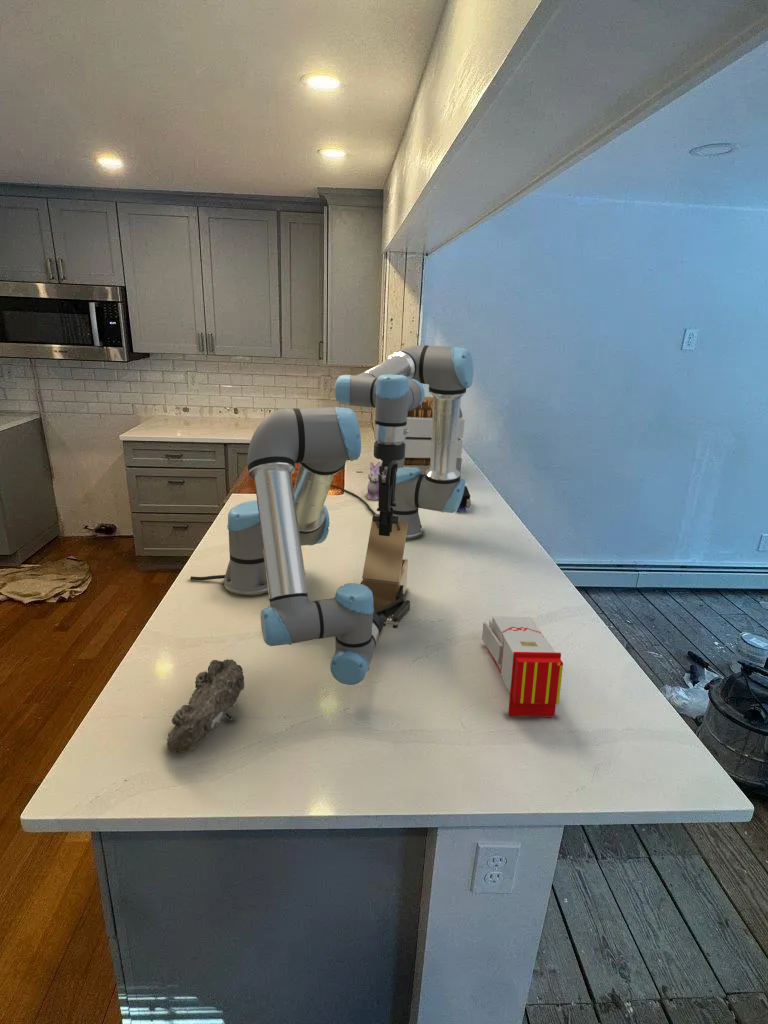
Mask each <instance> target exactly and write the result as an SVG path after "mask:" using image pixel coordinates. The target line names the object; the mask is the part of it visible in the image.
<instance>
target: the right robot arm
mask: <svg viewBox="0 0 768 1024" xmlns="http://www.w3.org/2000/svg"><path fill="white" fill-rule="evenodd" d="M473 378H474V362H473V357H472V354H471V352H470V350H469V349H468V348H465V347H458V346H449V345H428V344H417V345H412V346H408V347H405V348H402V349H398V350H396V351H394V352H393V353H391V354H390V355H389V356H388V357H387V358H386V360H385V361H383V362H380V363H379V364H376V365H375V366H373V367H371V368H369V369H366V370H365V371H362V372H361V373H359V374H356V375H351V374H341V375H339V376H338V377H337V379H336V381H335V384H334V396H335V400H336V402H337V403H338V404H340V405H346V406H349V407H351V406H352V407H361V408H362V407H363V408H372V409H375V417H374V427H373V429H374V431H373V432H374V433H373V439H374V441H375V442H373V457H374V458H375V459H377V460H380V461H381V465H380V467H379V473H380V474H379V476H378V479H379V499H378V504H377V505H378V506H377V508H376V512H379V514H380V518H379V535H381V536H390V532H392V524H390V523H391V516H399V521H407V522H408V527H407V534H406V541H410V540H415V539H418V538H420V537H421V536H422V535H423V525H422V524H421V518H420V515H419V509H424V510H429V511H433V512H441V513H449V514H453V513H456V512H457V509H458V507H459V505H460V503H461V500H462V496H463V493H464V488H465V486H466V481H465V479H462V478H461V474H460V472H459V471H458V470H457V469H456V461H457V446H458V431H459V416H460V408H461V401H462V397H463V396H464V395H466V393H467V389H469V388H471V386H472V385H473ZM423 385H428V392H429V394H431V396H432V397H433V415H432V437H431V459H430V466H429V468H427V469H426V470H425V471H424V472H425V473H422V469H421V468H419V467H417V466H404V467H402V468H398V464H397V463H396V461H398V460H402V459H403V458H404V457H405V443H404V441H405V439H406V433H408V432H409V430H408V429H405V428H406V424H407V411H410V410H414V409H416V408H417V407H418V406H419V405H420V404H421V403H422V402H423V399H424V397H426V396H425V394H426V393H425V388H424V386H423ZM330 487H332V488H335V489H338V490H340V491H343V492H345V493H347V494H350V495H351V496H354V497H355V498H357V499H358V500H360V501H361V502H362V503H363V504H364V505H365V506H366V507H367V509H368V510H369V511H370V513H372V514H373V515H374V514H377V513H376V512H375V511H374V510H373V509H372V508H371V507H370V505H369V504H368V503H367V502H366V501H365V500H364V499H363V498H362V497H360V496H359V495H357V494H356V493H354V492H352V491H350V490H347V489H344V488H342V487H340V486H337V485H334V484H331V486H330Z"/></svg>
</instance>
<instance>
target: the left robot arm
mask: <svg viewBox="0 0 768 1024" xmlns="http://www.w3.org/2000/svg"><path fill="white" fill-rule="evenodd" d="M361 452H362V436H361V428H360V424H359V421H358V416H357V415H356V413H355V411H354V410H353V409H351V408H350V407H339V406H330V407H326V406H325V407H304V408H303V407H299V408H297V407H296V408H295V407H294V408H292V407H285V408H281V409H277V410H274V411H273V412H271V413H270V414H268V415H267V416H266V417H265V418H264V419H263V420H262V421H261V422H260V423H259V425H258V426H257V427H256V429H255V431H253V435H252V436H251V438H250V441H249V446H248V451H247V459H246V461H247V463H246V464H247V474H248V476H249V478H251V479H252V480H253V481H254V487H255V495H256V499H255V500H249V501H244V502H241V503H238V504H236V505H235V506H233V507H231V508H230V510H229V512H228V514H227V526H226V527H227V530H228V549H229V550H228V551H229V552H228V553H229V562H228V564H227V568H226V572H225V574H219V575H208V576H192V575H191V576H190V581H211V580H220V579H221V580H222V579H224V580H223V582H224V583H223V584H224V589H225V590H226V591H227V592H229V593H231V594H233V595H234V594H235V595H238V596H243V597H253V596H261V595H266V594H268V600H269V606H267V607H263V608H262V609H261V611H260V628H261V634H262V639H263V642H264V643H265V644H266V645H267V646H269V647H278V646H286V645H289V646H292V644H298V643H304V642H309V641H314V640H322V639H329V638H334V641H335V643H334V644H335V645H334V654H333V655H332V657H331V661H330V665H329V669H330V674H331V675H332V678H334V679H335V681H337V682H338V683H340V684H342V685H346V686H355V685H357V684H360V683H361V682H362V681H363V680H364V679H365V677H366V675H367V674H368V672H369V670H370V665H371V662H372V660H373V657H374V654H375V651H376V648H377V645H378V642H379V640H380V638H381V636H382V635H381V634H382V632H383V629H384V627H386V626H387V625H391V626H392V628H393V629H398V627H399V623H400V622H401V621H402V620H403V619H404V617H406V616H407V614H408V613H409V612H410V611H411V600H410V599H406V593H405V594H403V585H400V588H399V591H398V593H397V596H396V600H395V601H394V602H392V603H390V604H389V605H387V606H385V607H383V606H382V607H380V608H378V609H374V608H373V594H372V591H371V590H370V589H369V588H368V587H367V586H365V585H362V580H361V582H360V583H357V582H348V583H345V584H343V585H340V586H338V587H337V589H336V591H335V594H334V597H332V598H325V599H318V600H309V593H308V585H307V579H306V577H307V576H306V570H305V563H304V557H303V549H302V547H303V546H315V545H319V544H322V543H323V542H325V540H327V538H328V536H329V531H330V529H329V528H330V514H329V511H328V508H327V506H326V505H325V502H326V500H327V497H328V494H329V492H330V489H331V487H332V486H331V485H332V483H333V481H334V478H335V475H336V474H338V473H339V472H341V471H342V470H343V469H344V467H345V465H346V463H347V461H350V462H353V461H357V460H358V459H359V458H360V457H361V454H362V453H361ZM296 464H299V465H298V470H297V473H296V478H295V482H294V485H293V478H292V476H293V474H294V473H295V472H296ZM393 614H394V615H393Z"/></svg>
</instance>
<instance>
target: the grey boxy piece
mask: <svg viewBox="0 0 768 1024" xmlns="http://www.w3.org/2000/svg"><path fill="white" fill-rule="evenodd" d="M432 415H433V396H424V399H423V402H422V403H421V404H420V405H419V406H418V407H417V408H416V409H414V410H410V411H407V424H406V428H405V429H408V430H409V432H408V433H406V439H405V441H404V443H405V457H404V458H403V459H402V460H398V461H396V463H397V464H398V468H402V467H405V466H406V467H417V466H418V467H430V459H431V437H432ZM464 429H465V419H464V418H463V411H462V408H461V407H460V416H459V431H458V446H457V461H456V469H457V470H458V471H459V472H460V475H461V472H462V461H463V460H462V453H463V442H464V441H463V440H462V439H463V438H464V431H465V430H464Z"/></svg>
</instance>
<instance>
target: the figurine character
mask: <svg viewBox="0 0 768 1024" xmlns="http://www.w3.org/2000/svg"><path fill="white" fill-rule="evenodd" d="M471 501H472V500H471V494H470V491H469V488H468V486H467V485H465V488H464V493H463V496H462V500H461V503H460V505H459V507H458V509H457V510H456V512H460V510H463V511H464V513H466V512H467V509H470V508H471V505H472V504H471ZM466 508H467V509H466Z"/></svg>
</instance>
